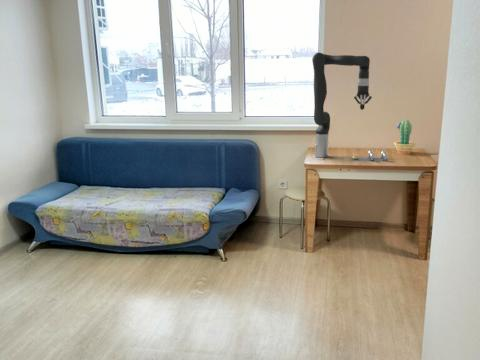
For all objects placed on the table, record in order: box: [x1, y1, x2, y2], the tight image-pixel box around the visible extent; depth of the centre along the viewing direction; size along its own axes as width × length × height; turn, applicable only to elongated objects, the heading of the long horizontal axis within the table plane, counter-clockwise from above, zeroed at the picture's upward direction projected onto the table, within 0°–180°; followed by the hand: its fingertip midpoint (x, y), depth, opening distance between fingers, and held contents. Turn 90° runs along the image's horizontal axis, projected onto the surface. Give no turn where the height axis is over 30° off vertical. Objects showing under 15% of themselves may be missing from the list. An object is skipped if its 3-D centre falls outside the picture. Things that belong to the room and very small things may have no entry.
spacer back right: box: [380, 150, 387, 159], centre depth 321 cm, size 3×3×5 cm
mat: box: [349, 156, 388, 162], centre depth 319 cm, size 25×12×1 cm, turn 81°
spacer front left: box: [369, 152, 375, 162], centre depth 314 cm, size 3×3×5 cm
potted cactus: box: [393, 119, 416, 155], centre depth 334 cm, size 15×15×25 cm
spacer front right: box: [382, 152, 389, 162], centre depth 313 cm, size 3×3×5 cm
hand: (362, 109), depth 319 cm, fingers closed
